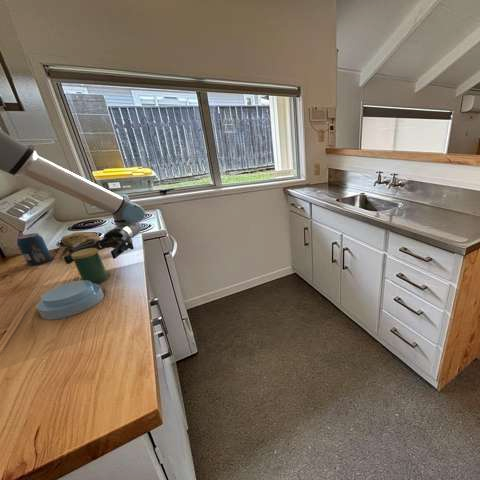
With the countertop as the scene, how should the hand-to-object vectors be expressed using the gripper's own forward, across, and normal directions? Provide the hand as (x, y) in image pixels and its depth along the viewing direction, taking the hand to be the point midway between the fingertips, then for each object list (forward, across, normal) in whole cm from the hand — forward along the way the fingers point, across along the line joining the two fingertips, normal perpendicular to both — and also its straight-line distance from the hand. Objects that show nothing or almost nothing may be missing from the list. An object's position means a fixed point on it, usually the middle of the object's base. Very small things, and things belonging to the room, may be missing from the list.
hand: (90, 257), depth 87 cm
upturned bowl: (+16, -1, -8) cm, 18 cm away
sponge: (-38, +23, -8) cm, 45 cm away
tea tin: (+2, 0, -8) cm, 8 cm away
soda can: (-22, +30, -8) cm, 39 cm away
